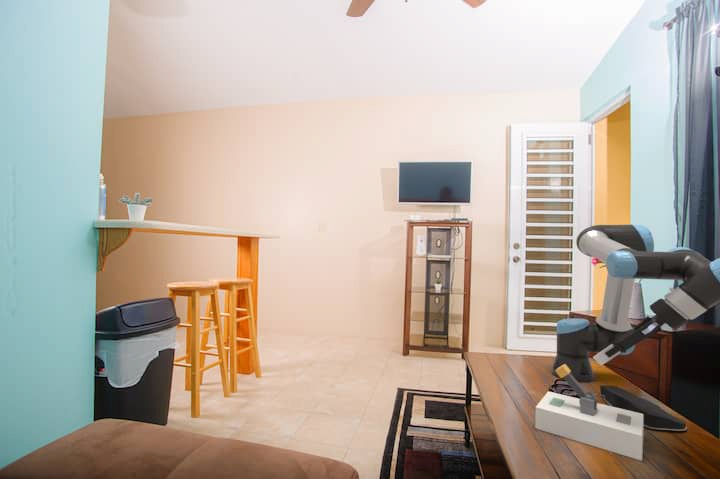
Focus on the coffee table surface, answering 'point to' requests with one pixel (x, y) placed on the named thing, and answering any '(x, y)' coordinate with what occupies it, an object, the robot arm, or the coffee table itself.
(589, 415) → the switch housing
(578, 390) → the lever
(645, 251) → the robot arm
